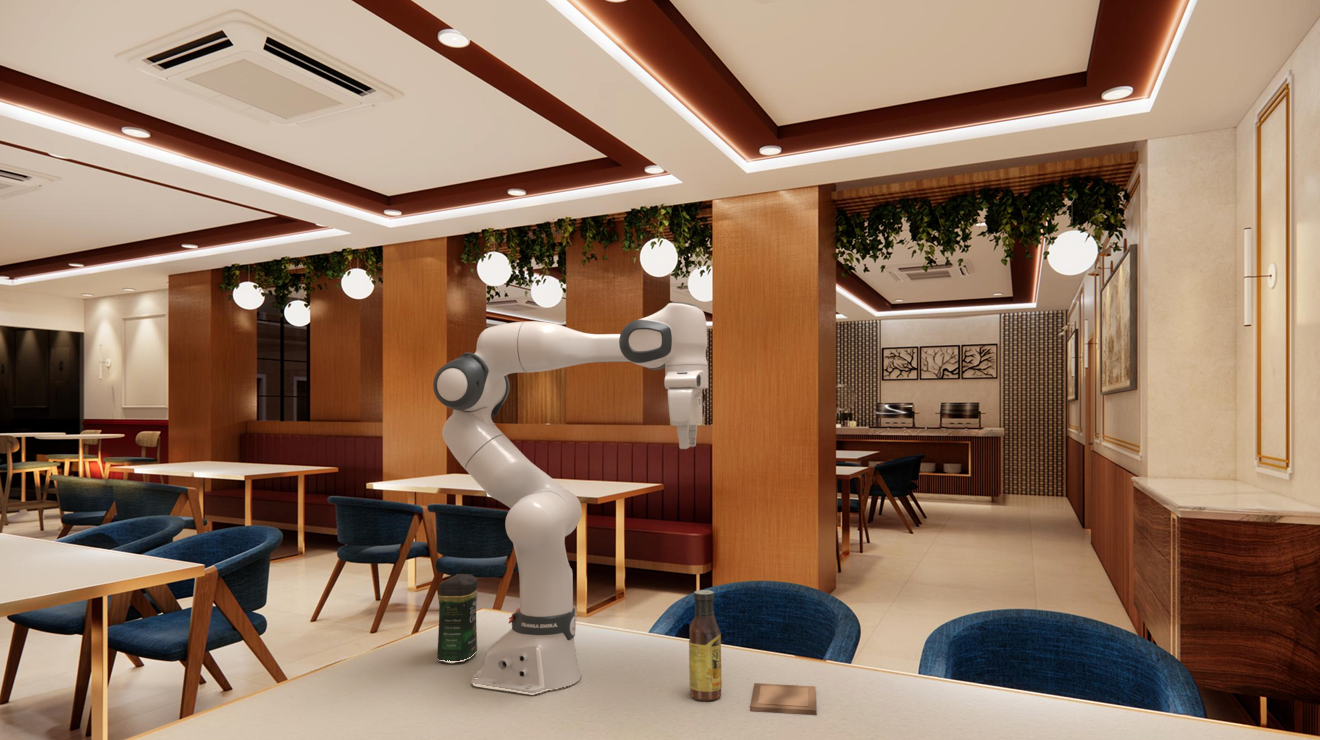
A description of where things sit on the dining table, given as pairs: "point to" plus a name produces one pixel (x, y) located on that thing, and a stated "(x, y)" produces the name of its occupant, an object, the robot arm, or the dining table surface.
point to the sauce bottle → (704, 649)
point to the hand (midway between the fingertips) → (687, 447)
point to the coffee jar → (457, 618)
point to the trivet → (783, 699)
